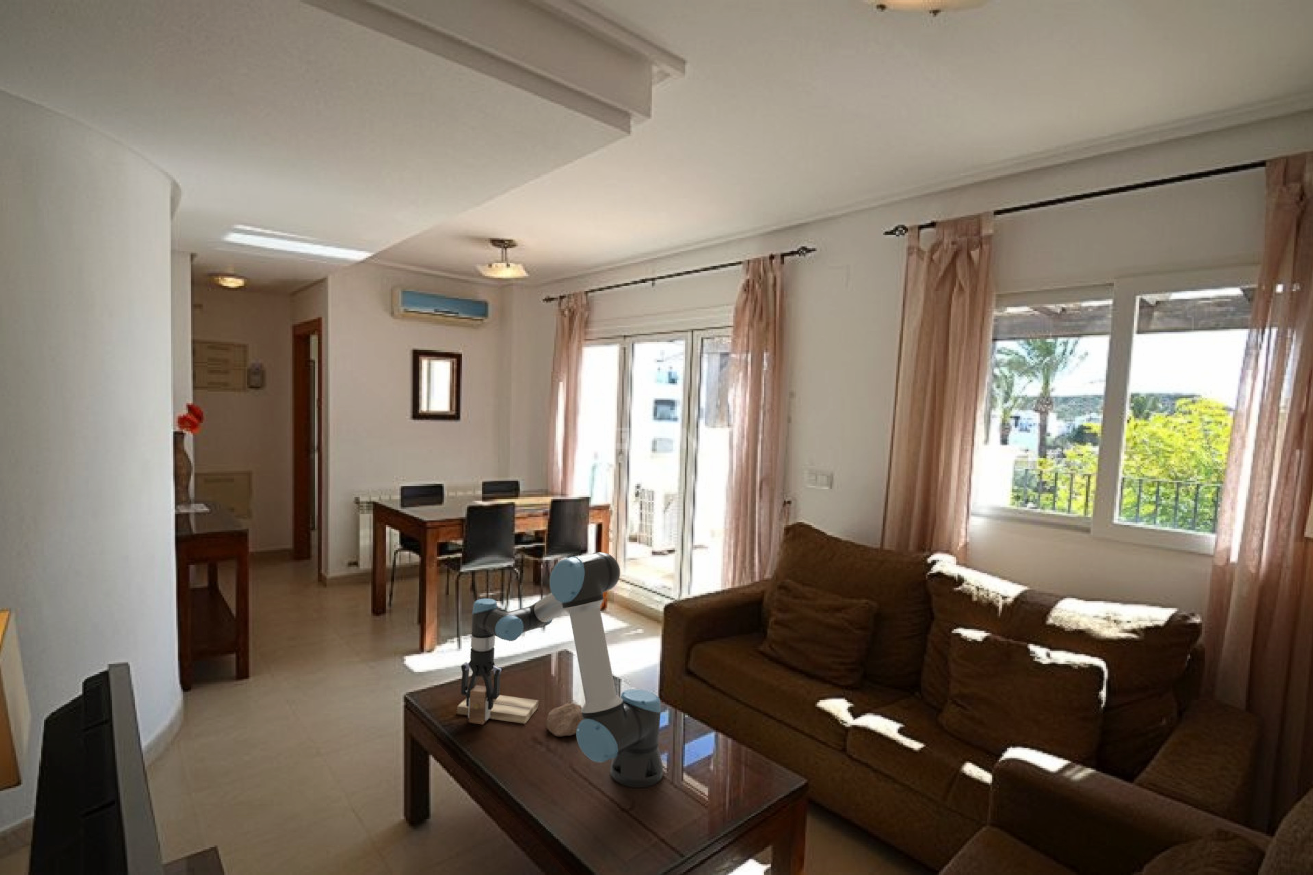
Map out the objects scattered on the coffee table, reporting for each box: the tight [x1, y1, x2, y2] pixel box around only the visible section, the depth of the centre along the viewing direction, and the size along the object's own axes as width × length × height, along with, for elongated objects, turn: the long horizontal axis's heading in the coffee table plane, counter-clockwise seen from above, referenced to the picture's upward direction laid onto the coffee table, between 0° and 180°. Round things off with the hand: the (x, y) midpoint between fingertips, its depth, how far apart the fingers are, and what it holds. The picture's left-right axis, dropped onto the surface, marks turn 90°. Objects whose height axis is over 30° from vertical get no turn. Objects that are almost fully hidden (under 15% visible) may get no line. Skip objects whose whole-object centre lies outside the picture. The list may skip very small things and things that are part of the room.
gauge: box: [468, 684, 495, 725], centre depth 211 cm, size 15×5×10 cm, turn 170°
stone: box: [546, 702, 583, 737], centre depth 204 cm, size 12×9×10 cm
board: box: [456, 694, 539, 725], centre depth 214 cm, size 12×24×3 cm, turn 80°
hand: (479, 717), depth 207 cm, fingers closed on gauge, 5 cm apart
